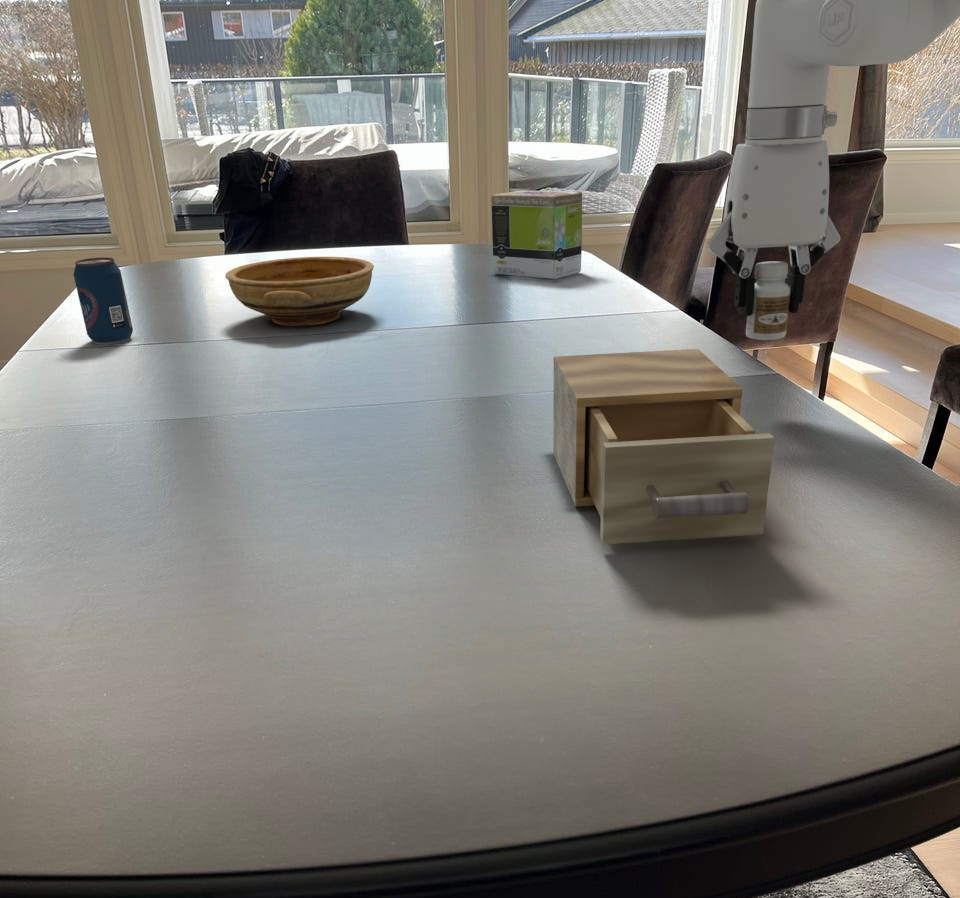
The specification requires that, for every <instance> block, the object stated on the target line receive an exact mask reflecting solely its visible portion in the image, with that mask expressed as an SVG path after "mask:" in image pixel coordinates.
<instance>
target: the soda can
mask: <svg viewBox="0 0 960 898" xmlns="http://www.w3.org/2000/svg"><path fill="white" fill-rule="evenodd" d="M74 264H75V267H74V271H73V274H72V275H73V279H74V283H75V284H74V285H75V288H76V292H77V296H78V301H79V305H80V309H81V313H82V317H83V323H84V327H85V331H86V335H87V337H88V338H89V339H90V340H91V341H92V342H93V343H94V344H95V345H100V346H101V345H105V346H107V345H116V344H121V343H125V342H128V341H130V339H131V337H132V334H133V331H134V327H133V323H132V318H131V314H130V308H129V303H128V299H127V295H126V291H125V285H124V281H123V275H122V270H121V269H120V267H119V266H118V265H117V263H116V262H115V258H113V257H91V258H84V259H79V260H76V261H74Z"/></svg>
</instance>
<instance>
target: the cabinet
mask: <svg viewBox="0 0 960 898" xmlns="http://www.w3.org/2000/svg"><path fill="white" fill-rule="evenodd" d="M742 398H743V388H742V387H741V386H740V385H739V384H738V383H737V382H736V381H735V380H733V379H732V378H731V377H730V376H729V375H728V374H727V373H726V372H724V370H722V369H721V368H720V367H719V366H718V365H717V364H716V363H715V362H714V361H712V360H711V359H710V358H709V357H708V356H707V355H706V354H704V352H702V351H701V350H700V349H699V348H688V349H670V350H650V351H633V352H630V351H629V352H614V353H613V352H612V353H595V354H575V355H559V356H556V355H555V356H553V399H552V400H553V409H552V411H553V417H552V418H553V421H552V422H553V423H552V425H553V429H552V430H553V431H552V434H553V437H552V438H553V440H552V441H553V442H552V443H553V444H552V445H553V447H552V449H553V451H552V454H553V456H554V458H555V461H556V464H557V466H558V468H559V470H560V473H561V475H562V478H563V481H564V483H565V485H566V488H567V491H568V492H569V495H570V498H571V500H572V502H573V505H574V507H575V508H576V507H591V506H592V507H593V506H595V504H594V502H593V500H592V497H591V495H590V493H589V491H588V489H587V487H586V484H585V482H584V464H585V414H586V407H589V406H606V405H624V404H642V403H660V402H677V401H695V400H713V399H724V400H725V401H726V402H727V403H728V404H729V405H730V406H731V407H732V408H733V409H734V410H735V411H736V412H737V413H738V414H739V415H740V416H741V408H742V400H743V399H742ZM595 507H596V506H595Z"/></svg>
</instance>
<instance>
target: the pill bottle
mask: <svg viewBox="0 0 960 898" xmlns="http://www.w3.org/2000/svg"><path fill="white" fill-rule="evenodd" d="M754 266H755V267H754V268H755V269H754V279H755V280H756V281H755V288H754V300H753V312H752V315H750V316H746V323H745V324H746V325H745V337H747V338H749V339H752V340H756V341H757V340H758V341H774V340H781V339H783V338H785V337H786V335H787V330H788V329H787V328H788V321H789V320H788V319H789V313H790V312H789V302H790V291H791V288H790V286H789V285H788V284H786V283H785V279H786V278H787V274H788V271H789V263H788V262H786V261H775V260H774V261H771V260H770V261H761V262H757V263H756V264H755V265H754Z"/></svg>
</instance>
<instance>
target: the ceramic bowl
mask: <svg viewBox="0 0 960 898" xmlns="http://www.w3.org/2000/svg"><path fill="white" fill-rule="evenodd" d="M374 268H375V265H374V264H373V263H372V262H370V261H368V260H365V259H361V258H355V257H347V256H301V257H299V256H298V257H288V258H279V259H278V258H277V259H270V260H263V261H258V262H251V263H247V264H243V265H240V266H237V267H234V268H231V269H230V270H228V271H227V272H226V273H225V279H226V280H227V281H228V284H229V287H230V290H231V292H232V294H233V295H234V297H235V298H236V299H237V300H238V301H239V302H240V304H242V305H243V306H244V307H246V308H248V309H250V310H251V311H252V310H253V311H255V312H258V313H260V314H262V315H265V316H269V317H271V321H272V322H273V323H274V324H276V325H280V326H287V327H297V326H298V327H302V326H315V325H316V326H317V325H322V324H326V323H330V322H333V321H336V320H338V319H339V318H340V312H342V311H344V310H345V309H347V308H349V307H351V306H353V305H354V304H356V303H357V302H359V301H361V300H362V298H364V296H365V295H366V294H367V293H368V291H369V288H370V286H371V282H372V277H373V270H374Z"/></svg>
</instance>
